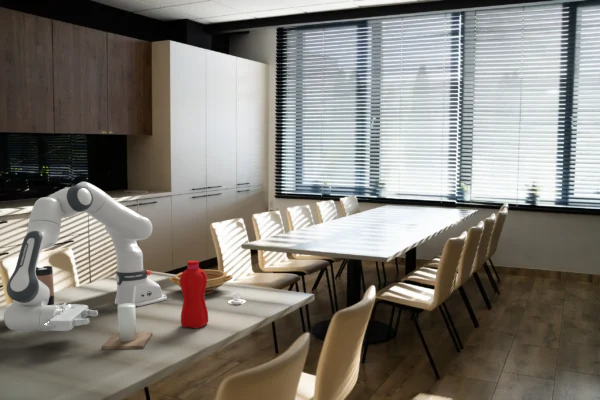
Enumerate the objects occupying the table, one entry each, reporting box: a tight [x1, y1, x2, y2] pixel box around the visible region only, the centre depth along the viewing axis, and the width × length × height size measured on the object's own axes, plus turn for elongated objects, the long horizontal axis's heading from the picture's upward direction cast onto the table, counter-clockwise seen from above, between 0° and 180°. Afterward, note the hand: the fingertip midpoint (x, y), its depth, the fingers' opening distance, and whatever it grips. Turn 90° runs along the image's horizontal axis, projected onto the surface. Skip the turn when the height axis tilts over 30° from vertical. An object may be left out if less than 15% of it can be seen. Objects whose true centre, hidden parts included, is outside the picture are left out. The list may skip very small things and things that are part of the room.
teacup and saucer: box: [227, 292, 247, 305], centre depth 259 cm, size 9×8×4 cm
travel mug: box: [36, 265, 55, 305], centre depth 240 cm, size 8×8×20 cm
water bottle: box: [179, 260, 209, 329], centre depth 226 cm, size 9×11×25 cm
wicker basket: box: [168, 269, 233, 295], centre depth 278 cm, size 30×24×8 cm
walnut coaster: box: [101, 332, 153, 350], centre depth 208 cm, size 14×14×1 cm
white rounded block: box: [117, 303, 137, 342], centre depth 207 cm, size 6×6×12 cm
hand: (93, 317), depth 207 cm, fingers open, 8 cm apart
